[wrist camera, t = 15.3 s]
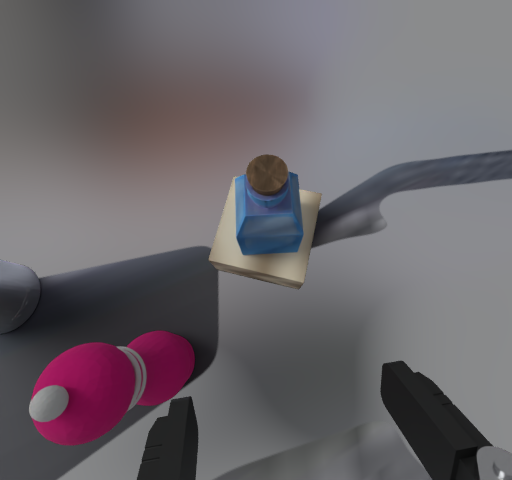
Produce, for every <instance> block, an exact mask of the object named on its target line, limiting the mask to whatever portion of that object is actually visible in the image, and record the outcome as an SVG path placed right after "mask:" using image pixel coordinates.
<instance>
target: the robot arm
mask: <svg viewBox="0 0 512 480" xmlns="http://www.w3.org/2000/svg"><path fill="white" fill-rule="evenodd" d="M39 298H40V282H39V279H38V277H37V275H36V274H35V272H34V271H33V270H31V269H30V268H29V267H27V266H25V265H21V264H17V263H12V262H8V261H4V260H0V334H2V333H7V332H10V331H12V330H14V329H16V328H18V327H19V326H21V325H22V324H23V323H24V322H25V321H26V320H27V319H28V318H29V317H30V316H31V314H32V313H33V312H34V310H35V308H36V306H37V304H38V301H39ZM381 397H382V400H383V403H384V405H385V407H386V409H387V410H388V412H389V413H390V415H391V416H392V418H393V420H394V421H395V423H396V424H397V426H398V427H399V429H400V430H401V432H402V433H403V435H404V436H405V438H406V439H407V441H408V443H409V444H410V446H411V447H412V449H413V450H414V452H415V454H416V455H417V457H418V458H419V460H420V461H421V463H422V464H423V466H424V467H425V469H426V471H427V472H428V474H429V475H430V477H431V478H432V480H512V454H511V453H510V452H508V451H506V450H503V449H500V448H497V447H494V446H493V445H492V444H490V442H489V441H487V439H486V438H485V437H484V436H483V435H482V434H481V433H480V432H479V431H478V430H477V428H476V427H475V426H474V425H473V424H472V423H471V422H470V421H469V420H468V419H467V418H466V417H465V416H464V414H463V413H462V412H461V411H460V410H459V409H458V408H457V407H456V406H455V405H453V404H452V402H451V400H450V399H449V398H448V397H447V396H446V395H444V394H443V392H442V391H441V390H440V389H439V387H438V386H437V385H436V384H435V383H434V382H433V381H432V380H430V379H429V378H427V377H425V376H424V375H423V374H421V373H420V372H416V373H414V372H413V371H412V370H411V369H410V368H409V367H408V366H407V364H405V363H404V362H403V361H396V362H391V363H384V364H383V366H382V379H381ZM197 452H198V425H197V420H196V415H195V410H194V406H193V401H192V397H191V396H190V397H184V398H179V399H173V400H171V403H170V408H169V413H168V416H165V417H160V418H157V420H156V421H155V423H154V425H153V426H152V428H151V429H150V431H149V433H148V438H147V442H146V445H145V451H144V454H143V457H142V464H141V465H140V469H139V473H138V477H137V480H195V477H196V464H197Z"/></svg>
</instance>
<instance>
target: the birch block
mask: <svg viewBox="0 0 512 480" xmlns="http://www.w3.org/2000/svg"><path fill="white" fill-rule="evenodd" d="M236 178H238V177H234V178H233V181H232V185H231V188H230V191H229V194H228V197H227V201H226V204H225V207H224V210H223V214H222V217H221V221H220V224H219V227H218V230H217V233H216V237H215V240H214V243H213V246H212V250H211V253H210V256H209V259H208V260H209V261H210V262H211V263H212V264H213V265H214V267H215V268H216V269H217V270H219V271H224V272H228V273H232V274H236V275H240V276H244V277H248V278H252V279H257V280H261V281H265V282H269V283H273V284H277V285H281V286H285V287H290V288H294V289H300V287H301V286H302V285H303V283H304V280H305V275H306V270H307V265H308V260H309V255H310V250H311V245H312V240H313V235H314V230H315V225H316V220H317V215H318V210H319V205H320V200H321V195H322V194H321V193H316V192H311V191H305V190H300V189H299V192H300V202H301V212H302V222H303V232H304V235H303V238H302V241H301V244H300V246H299V249H298V252H291V253H273V254H254V255H243V254H242V252H241V249H240V247H239V244H238V242H237V239H236V206H235V179H236Z"/></svg>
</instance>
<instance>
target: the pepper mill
mask: <svg viewBox="0 0 512 480" xmlns="http://www.w3.org/2000/svg"><path fill="white" fill-rule="evenodd" d="M194 364H195V355H194V351H193V348H192V346H191V344H190V343H189V342H188V341H187V340H186V339H185V338H183V337H182V336H179V335H176V334H173V333H170V332H167V331H153V332H149V333H145V334H143V335H141V336H139V337H137V338H136V339H135V340H133V341H132V342H131V343H130V344H129V345H128V346H127V347H122V346H117V347H115V346H114V345H110V344H106V343H101V342H93V343H86V344H82V345H78V346H75V347H73V348H71V349H69V350H67V351H65V352H64V353H62V354H61V355H59V356H58V357H56V358H55V359H54V360H53V361H52V362H50V364H49V365H48V366H47V367H46V368H45V369H44V371H43V372H42V374H41V375H40V377H39V379H38V381H37V383H36V385H35V388H34V391H33V394H32V399H31V403H30V406H29V413H30V415H31V417H32V419H33V422H34V425H35V426H36V428H37V430H38V431H39V432H40V434H42V435H43V436H44V437H45V438H46V439H48V440H50V441H52V442H54V443H56V444H61V445H78V444H84V443H87V442H90V441H93V440H95V439H97V438H99V437H100V436H102V435H104V434H105V433H107V432H108V431H110V430H111V429H112V428H113V427H114V426H115V425H116V424H117V423H118V422H119V421H120V420H121V419H122V417H123V416H124V415H125V413H126V412H127V411H129V410H130V409H131V408H133V407H134V406H135V404H138V405H144V406H152V405H158V404H160V403H163V402H165V401H167V400H169V399H171V398H172V397H174V396H175V395H176V394H177V393H178V392H179V391H180V390H181V388H182V387H183V385H184V384H185V382H186V381H187V380H188V379H189V377H190V376H191V374H192V372H193V369H194Z"/></svg>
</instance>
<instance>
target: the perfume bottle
mask: <svg viewBox="0 0 512 480" xmlns="http://www.w3.org/2000/svg"><path fill="white" fill-rule="evenodd" d="M235 206H236V239H237V242H238V244H239V247H240V249H241V252H242V254H243V255H254V254H273V253H291V252H298V249H299V246H300V244H301V241H302V238H303V235H304V232H303V222H302V212H301V202H300V192H299V183H298V175H297V174H294V173H291V172H288V169H287V166H286V164H285V163H284V161H283V160H282V159H280V158H279V157H277V156H274V155H261V156H259V157H256V158H254V159H253V160H252V161H251V162H250V163H249V165H248V167H247V171H246V174H245V175H242V176H240V177H238V178H236V179H235Z"/></svg>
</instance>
